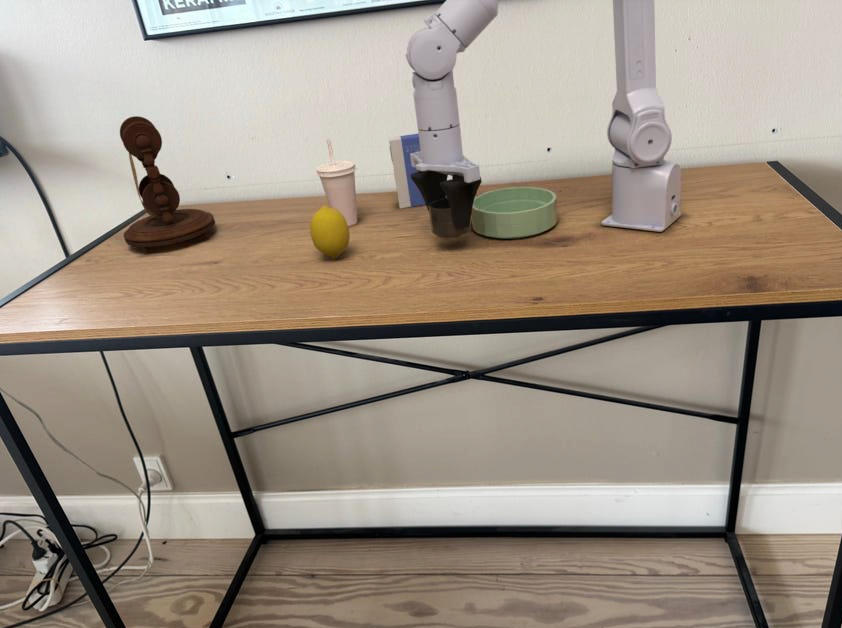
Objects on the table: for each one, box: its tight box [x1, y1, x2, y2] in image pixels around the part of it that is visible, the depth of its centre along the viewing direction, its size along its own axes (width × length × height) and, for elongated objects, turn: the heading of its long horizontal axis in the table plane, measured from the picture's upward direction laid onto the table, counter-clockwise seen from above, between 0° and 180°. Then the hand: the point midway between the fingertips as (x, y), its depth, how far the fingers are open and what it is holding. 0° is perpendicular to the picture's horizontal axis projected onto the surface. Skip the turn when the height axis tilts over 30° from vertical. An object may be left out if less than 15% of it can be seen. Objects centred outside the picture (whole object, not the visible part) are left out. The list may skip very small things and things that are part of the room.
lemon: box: [309, 205, 350, 259], centre depth 101 cm, size 6×6×8 cm
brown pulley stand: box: [119, 115, 216, 255], centre depth 115 cm, size 15×15×20 cm
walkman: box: [388, 132, 426, 209], centre depth 120 cm, size 8×3×12 cm, turn 99°
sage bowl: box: [471, 186, 558, 240], centre depth 107 cm, size 13×13×4 cm
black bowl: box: [428, 197, 472, 239], centre depth 100 cm, size 6×6×4 cm
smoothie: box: [315, 138, 358, 227], centre depth 114 cm, size 6×6×14 cm
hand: (450, 223), depth 101 cm, fingers closed on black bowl, 6 cm apart
